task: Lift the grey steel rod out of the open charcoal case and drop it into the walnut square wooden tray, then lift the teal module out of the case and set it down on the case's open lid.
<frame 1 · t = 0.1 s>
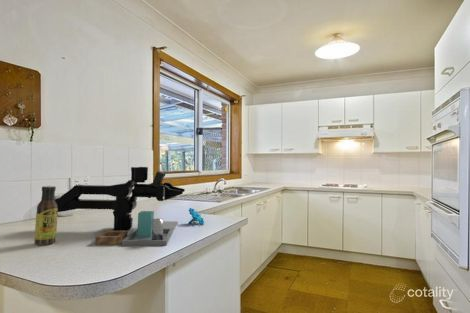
hand: (183, 191, 121), 17 cm above the counter, tool horizontal, fingers open, 9 cm apart
module: (145, 235, 109), resting on case
blue toy frog: (196, 224, 133), on the counter
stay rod: (157, 241, 101), resting on case
case: (149, 239, 105), on the counter
sauce bottle: (45, 244, 97), on the counter
square wooden tray: (112, 242, 100), on the counter
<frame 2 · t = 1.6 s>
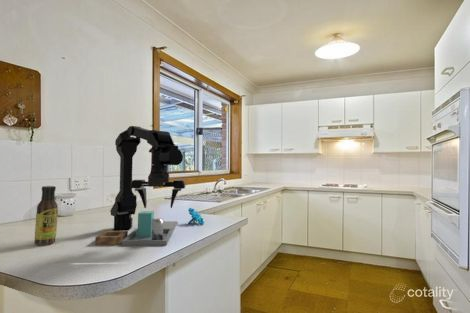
hand: (158, 207, 101), 13 cm above the counter, tool pointing down, fingers open, 9 cm apart
nothing on the counter moved.
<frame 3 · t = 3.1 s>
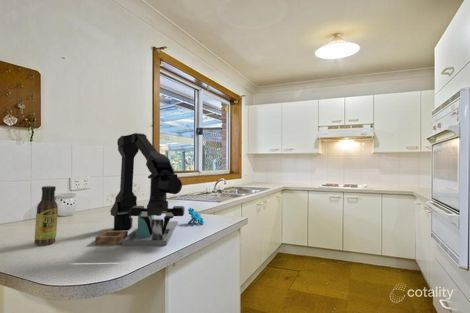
hand: (157, 234, 101), 3 cm above the counter, tool pointing down, fingers closed on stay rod, 4 cm apart
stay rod: (157, 241, 101), resting on case, touching gripper
everything else where it was.
when the fingers open (4 cm above the counter, at t = 7.6 s): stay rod drops 1 cm, resting in square wooden tray.
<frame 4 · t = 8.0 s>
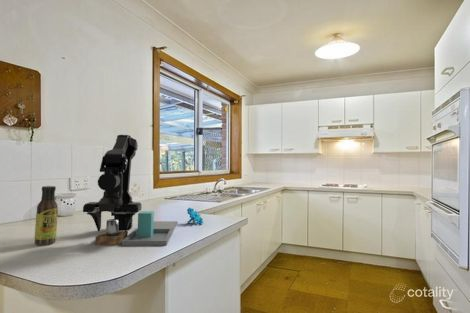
hand: (112, 231, 100), 4 cm above the counter, tool pointing down, fingers open, 9 cm apart
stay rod: (111, 242, 100), resting in square wooden tray
everything else where it was.
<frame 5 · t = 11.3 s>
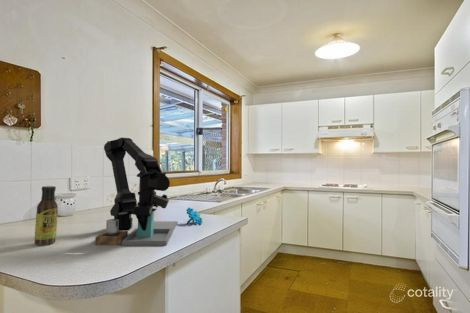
hand: (145, 228, 109), 3 cm above the counter, tool pointing down, fingers closed on module, 5 cm apart
module: (145, 235, 109), resting on case, touching gripper
when the fingers open (5 cm above the counter, at t = 15.6 s): module drops 1 cm, resting on case.
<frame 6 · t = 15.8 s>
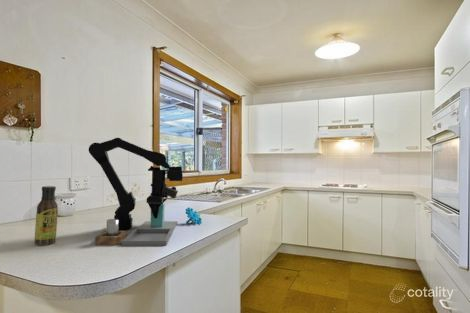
hand: (157, 216, 123), 5 cm above the counter, tool pointing down, fingers open, 7 cm apart
module: (157, 225, 123), point 1 cm above the counter, touching case
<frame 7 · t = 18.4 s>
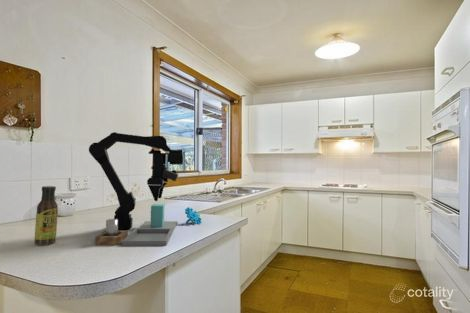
hand: (158, 199, 123), 12 cm above the counter, tool pointing down, fingers open, 9 cm apart
at the end: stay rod 0.0 cm off-centre on the square wooden tray, point 0.1 cm above the square wooden tray's base; module inside the target area (0.0 cm from its centre), point 1.0 cm above the counter; module tilted 0° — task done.
